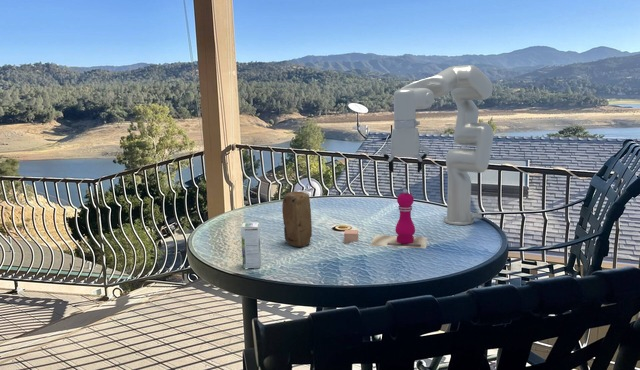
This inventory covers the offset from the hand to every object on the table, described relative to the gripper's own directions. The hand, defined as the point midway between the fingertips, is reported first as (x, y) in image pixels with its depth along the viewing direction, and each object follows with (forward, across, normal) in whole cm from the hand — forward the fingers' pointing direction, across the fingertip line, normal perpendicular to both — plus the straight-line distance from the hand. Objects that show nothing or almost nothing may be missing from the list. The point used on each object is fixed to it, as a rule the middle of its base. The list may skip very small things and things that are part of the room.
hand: (405, 172), depth 171 cm
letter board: (+27, +2, +1) cm, 27 cm away
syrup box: (+26, +48, +32) cm, 64 cm away
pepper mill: (+26, 0, 0) cm, 26 cm away
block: (+27, +40, +7) cm, 49 cm away
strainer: (+27, +47, -22) cm, 59 cm away
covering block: (+27, +21, +1) cm, 34 cm away
